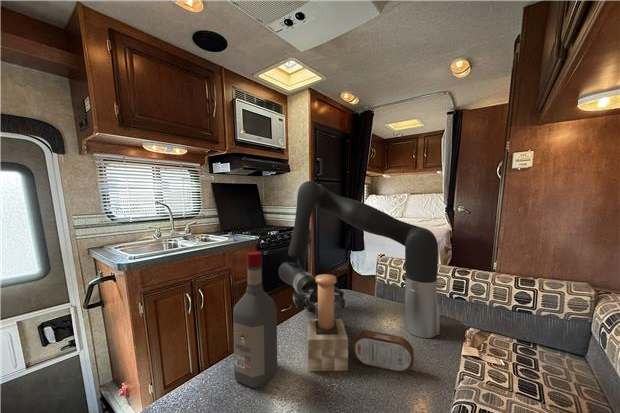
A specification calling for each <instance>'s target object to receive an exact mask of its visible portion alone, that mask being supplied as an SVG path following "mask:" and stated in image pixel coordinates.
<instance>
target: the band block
mask: <svg viewBox="0 0 620 413" xmlns="http://www.w3.org/2000/svg"><path fill="white" fill-rule="evenodd" d="M346 331H347V330H346V328H345V325H344V322H343V319H342V318H334V327H333V328H332V329H329V330H324V329H321V328H319V327H318V318H311V319H307V371H308V372H327V371H329V372H331V371H333V372H334V371H336V372H339V371H349V339H348V335H347V332H346Z"/></svg>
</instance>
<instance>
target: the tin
mask: <svg viewBox="0 0 620 413" xmlns="http://www.w3.org/2000/svg"><path fill="white" fill-rule="evenodd" d="M352 351H353V354H354V356H355V358H356V359H357V361H359V362H360V363H361V364H363V365H365V366H369V367H372V368H376V369H381V370H385V371H386V370H387V371H390V372H395V373H400V374H401V373H406V372H408V371H410V370H411V369H412V368H413V366H414V363H415V352H414V349H413V346H412V345H411V343H410V342H409V341H408V340H407V339H406V338H404V337H402V336H399V335H395V334H390V333H385V332H379V331H373V330H367V329H363V330H360V331H358V332H357V333H356V334H355V335H354V337H353V342H352Z"/></svg>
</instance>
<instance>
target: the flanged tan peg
mask: <svg viewBox="0 0 620 413" xmlns="http://www.w3.org/2000/svg"><path fill="white" fill-rule="evenodd" d="M315 278H316V283H318V302H317V319H318V327H319V328H321V329H324V330H329V329H332V328H333V327H334V319H335V302H334V299H335V297H334V286H335V284H336V283H337V276H335V275H333V274H327V273H326V274H325V273H323V274H318V275H316V276H315Z"/></svg>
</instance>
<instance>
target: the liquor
mask: <svg viewBox="0 0 620 413" xmlns="http://www.w3.org/2000/svg"><path fill="white" fill-rule="evenodd" d="M262 266H263V252H262V251H255V250H254V251H249V252H247V253H246V267H247V287H246V292H245V293H244V295H243V296H242V297H241V298H240V299H239V300H238V302H237V303H236V304H235V305H234V307H233V310H232V311H233V313H232V314H233V315H232V316H233V319H232V320H233V364H234V365H233V366H234V367H233V368H234V369H233V370H234V372H233V374H234V380H235V381H236V382H238V383H240V384H242V385H243V386H247V387H249V388H252V389H254V388H258V387H262V386H264V385H265V384H266V383H267V382H268V381H269V380H270V379H271V377H272V376H273V375H274V374H275V373H276V372H277V369H278V324H277V323H278V315H277V314H278V309H277V306H276V303H275V302H274V299H273V298H272V297H271V296H269V295H268V293H266V292H265V291H264V287H263V277H262V276H263V275H262V274H263V273H262V271H263V270H262V269H263V268H262Z"/></svg>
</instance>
